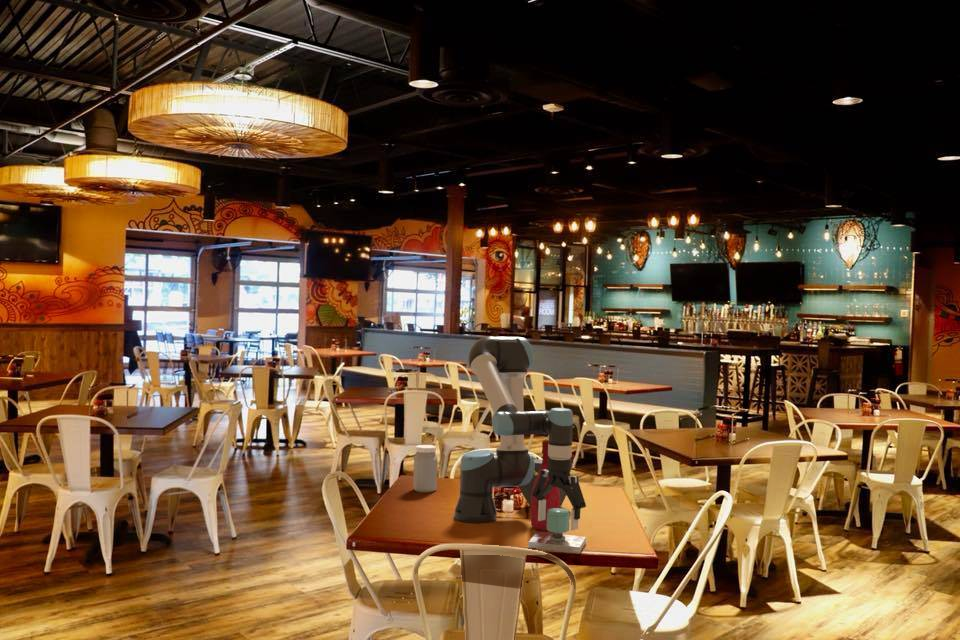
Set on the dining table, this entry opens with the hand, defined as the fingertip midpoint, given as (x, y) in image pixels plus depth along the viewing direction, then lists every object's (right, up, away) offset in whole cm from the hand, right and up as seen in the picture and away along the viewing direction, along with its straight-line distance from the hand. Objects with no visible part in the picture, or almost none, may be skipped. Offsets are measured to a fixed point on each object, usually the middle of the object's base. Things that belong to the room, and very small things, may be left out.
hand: (557, 524), depth 249 cm
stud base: (0, -7, 0) cm, 7 cm away
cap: (0, -2, 0) cm, 2 cm away
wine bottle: (-2, -7, +20) cm, 22 cm away
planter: (0, -7, +49) cm, 49 cm away
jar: (-47, -5, +73) cm, 87 cm away
